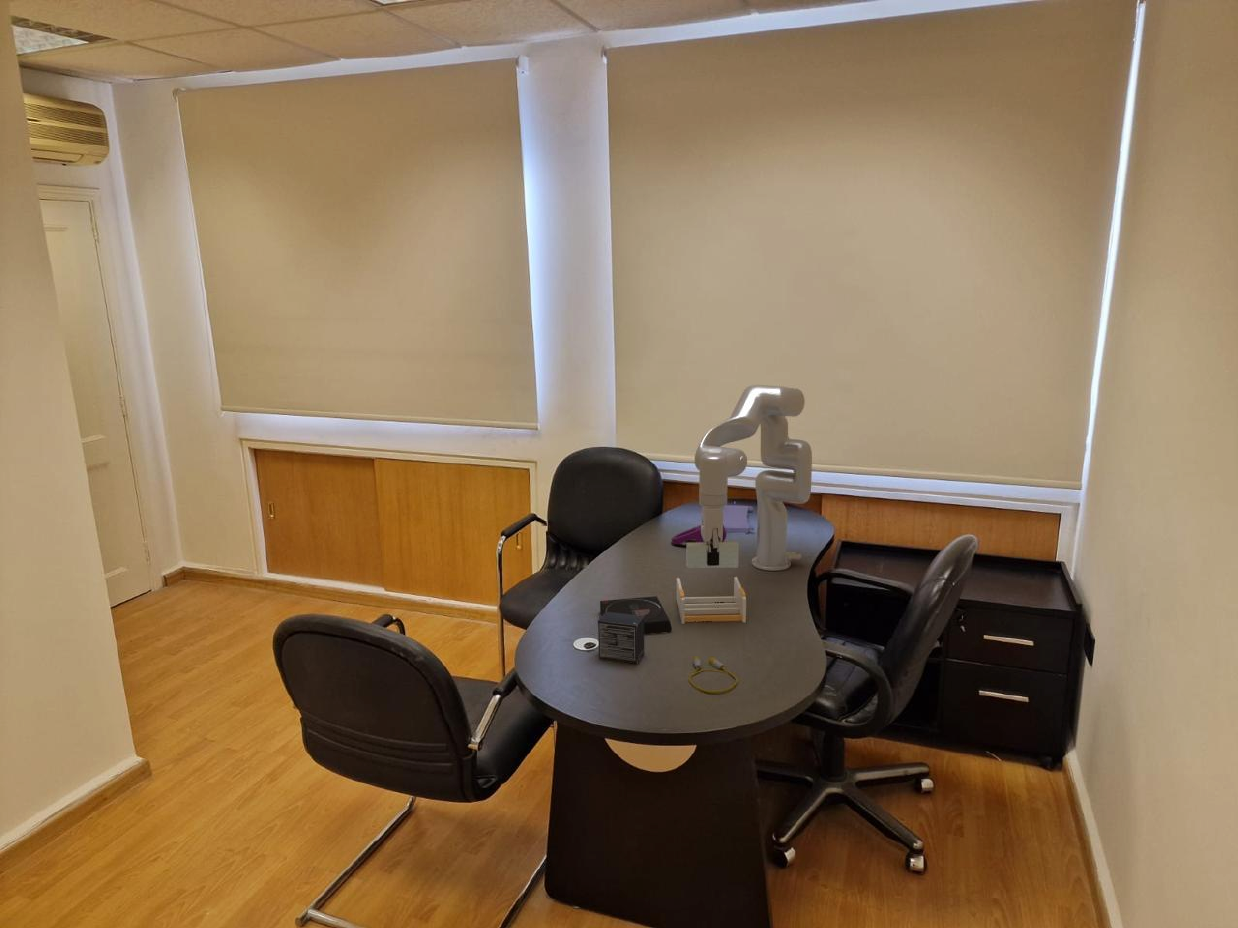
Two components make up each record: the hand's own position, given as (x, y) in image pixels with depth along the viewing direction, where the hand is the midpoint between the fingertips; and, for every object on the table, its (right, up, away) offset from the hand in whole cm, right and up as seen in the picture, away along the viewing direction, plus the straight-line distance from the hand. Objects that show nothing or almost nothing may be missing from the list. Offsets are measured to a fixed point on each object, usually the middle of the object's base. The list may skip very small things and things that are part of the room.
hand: (712, 562), depth 221 cm
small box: (-25, -22, -18) cm, 37 cm away
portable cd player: (-21, -17, +2) cm, 27 cm away
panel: (0, -1, 0) cm, 1 cm away
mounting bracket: (+2, -2, +63) cm, 63 cm away
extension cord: (-3, -24, -29) cm, 38 cm away
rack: (0, -15, +8) cm, 17 cm away
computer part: (+18, +4, +89) cm, 91 cm away
